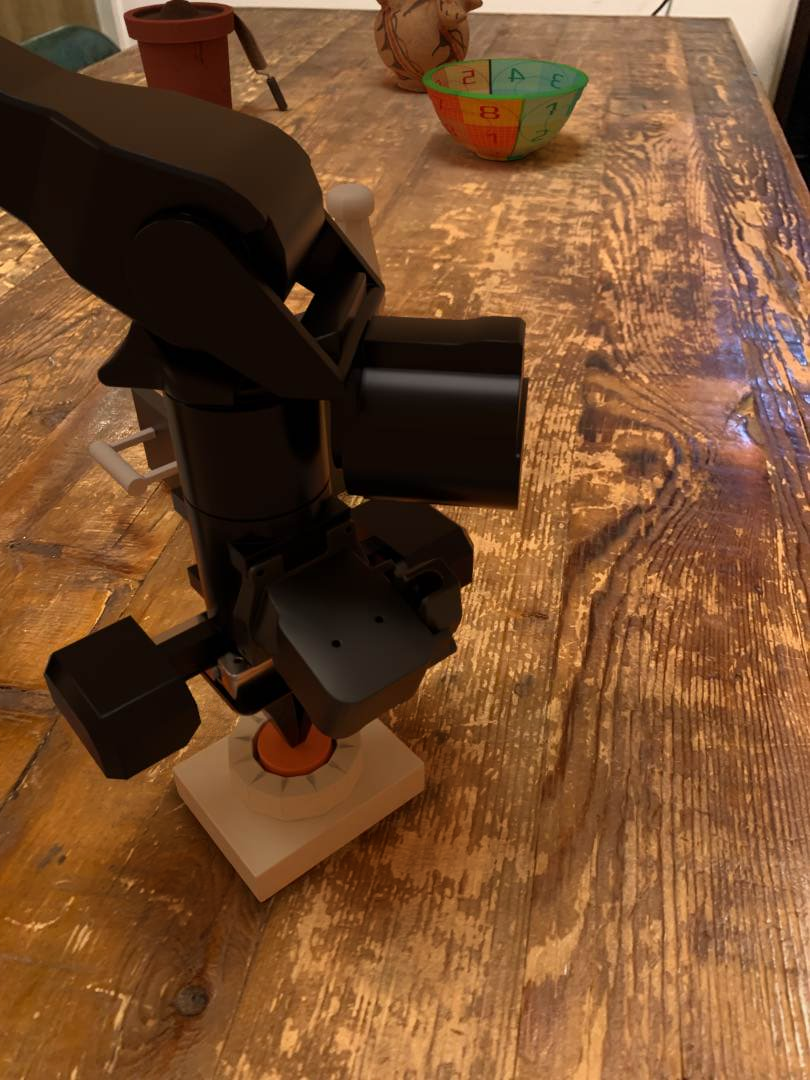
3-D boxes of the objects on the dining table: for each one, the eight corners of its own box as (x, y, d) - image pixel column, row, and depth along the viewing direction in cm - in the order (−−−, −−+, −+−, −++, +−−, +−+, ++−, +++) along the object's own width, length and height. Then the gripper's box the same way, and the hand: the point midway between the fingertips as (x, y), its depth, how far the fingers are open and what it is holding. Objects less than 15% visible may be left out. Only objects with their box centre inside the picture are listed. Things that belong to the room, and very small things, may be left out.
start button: (287, 805, 45) (283, 782, 44) (247, 759, 48) (243, 736, 47) (347, 766, 47) (345, 743, 46) (306, 723, 49) (303, 700, 48)
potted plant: (154, 113, 153) (122, -70, 138) (288, 108, 154) (271, -74, 138) (135, 145, 140) (97, -54, 124) (282, 140, 140) (263, -59, 125)
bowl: (591, 177, 124) (600, 95, 118) (422, 179, 125) (421, 98, 119) (571, 129, 142) (578, 56, 136) (422, 131, 142) (422, 58, 136)
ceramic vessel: (464, 102, 155) (468, -80, 140) (352, 97, 158) (344, -80, 143) (481, 76, 169) (486, -92, 154) (377, 73, 172) (372, -92, 157)
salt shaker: (315, 321, 92) (303, 186, 84) (363, 305, 95) (356, 172, 87) (349, 342, 88) (341, 203, 80) (398, 325, 91) (394, 188, 83)
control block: (260, 904, 44) (250, 854, 41) (177, 794, 49) (164, 744, 46) (425, 790, 49) (424, 739, 46) (334, 700, 54) (330, 650, 51)
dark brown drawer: (156, 561, 62) (136, 476, 58) (89, 491, 69) (67, 410, 65) (364, 465, 71) (359, 385, 66) (287, 411, 77) (278, 335, 73)
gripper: (128, 720, 27) (209, 985, 37) (576, 478, 36) (546, 742, 46) (-11, 537, 34) (88, 801, 44) (395, 372, 43) (402, 621, 53)
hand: (293, 739), depth 46 cm, fingers closed, pressing on start button
